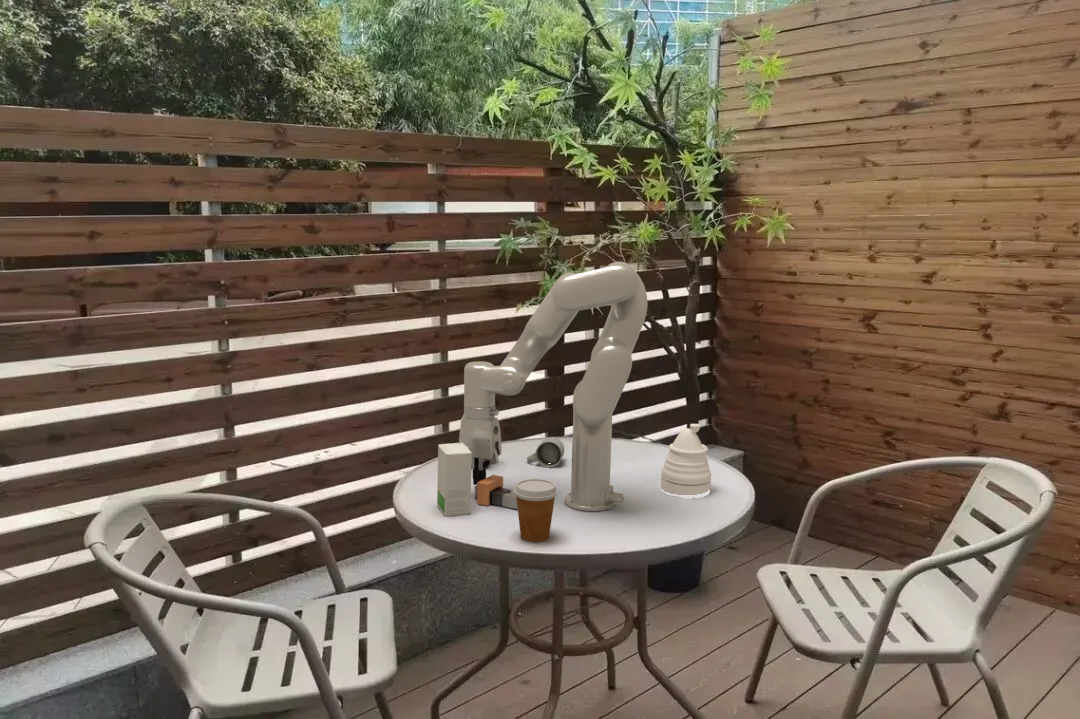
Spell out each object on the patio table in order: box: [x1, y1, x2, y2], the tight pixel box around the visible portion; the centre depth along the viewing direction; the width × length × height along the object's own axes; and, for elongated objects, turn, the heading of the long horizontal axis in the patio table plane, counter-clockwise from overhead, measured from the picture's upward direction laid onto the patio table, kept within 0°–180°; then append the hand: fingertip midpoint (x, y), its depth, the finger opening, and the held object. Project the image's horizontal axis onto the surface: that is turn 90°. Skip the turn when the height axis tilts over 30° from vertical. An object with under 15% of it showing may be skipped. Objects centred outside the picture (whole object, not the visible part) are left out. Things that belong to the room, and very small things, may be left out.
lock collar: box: [476, 474, 504, 507], centre depth 201 cm, size 3×7×5 cm, turn 151°
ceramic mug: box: [526, 436, 565, 468], centre depth 233 cm, size 11×8×8 cm
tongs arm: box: [489, 490, 518, 510], centre depth 198 cm, size 17×2×3 cm, turn 61°
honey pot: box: [659, 423, 712, 495], centre depth 211 cm, size 13×13×18 cm
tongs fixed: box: [474, 485, 515, 501], centre depth 200 cm, size 19×3×3 cm, turn 61°
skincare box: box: [436, 442, 472, 518], centre depth 194 cm, size 8×7×16 cm
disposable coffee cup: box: [513, 478, 558, 543], centre depth 179 cm, size 10×10×12 cm
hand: (479, 483), depth 203 cm, fingers closed
